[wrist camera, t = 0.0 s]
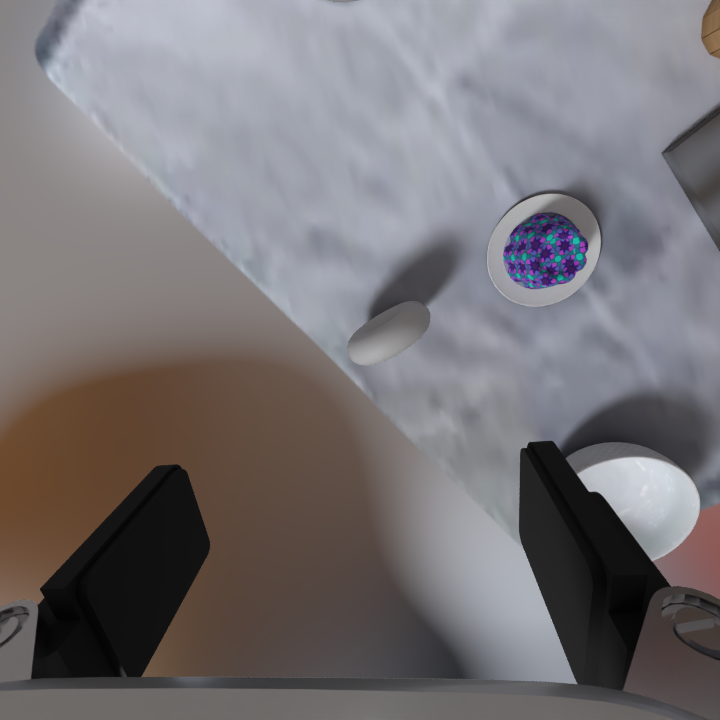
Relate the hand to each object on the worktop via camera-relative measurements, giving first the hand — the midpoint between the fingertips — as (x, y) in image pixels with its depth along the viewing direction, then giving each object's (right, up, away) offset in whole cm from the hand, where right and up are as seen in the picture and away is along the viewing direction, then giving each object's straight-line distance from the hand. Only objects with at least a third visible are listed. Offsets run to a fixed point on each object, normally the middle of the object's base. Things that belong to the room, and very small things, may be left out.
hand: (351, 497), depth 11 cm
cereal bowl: (+32, -12, +42) cm, 54 cm away
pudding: (+20, +16, +33) cm, 42 cm away
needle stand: (+42, +26, +27) cm, 56 cm away
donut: (+4, +9, +37) cm, 38 cm away
